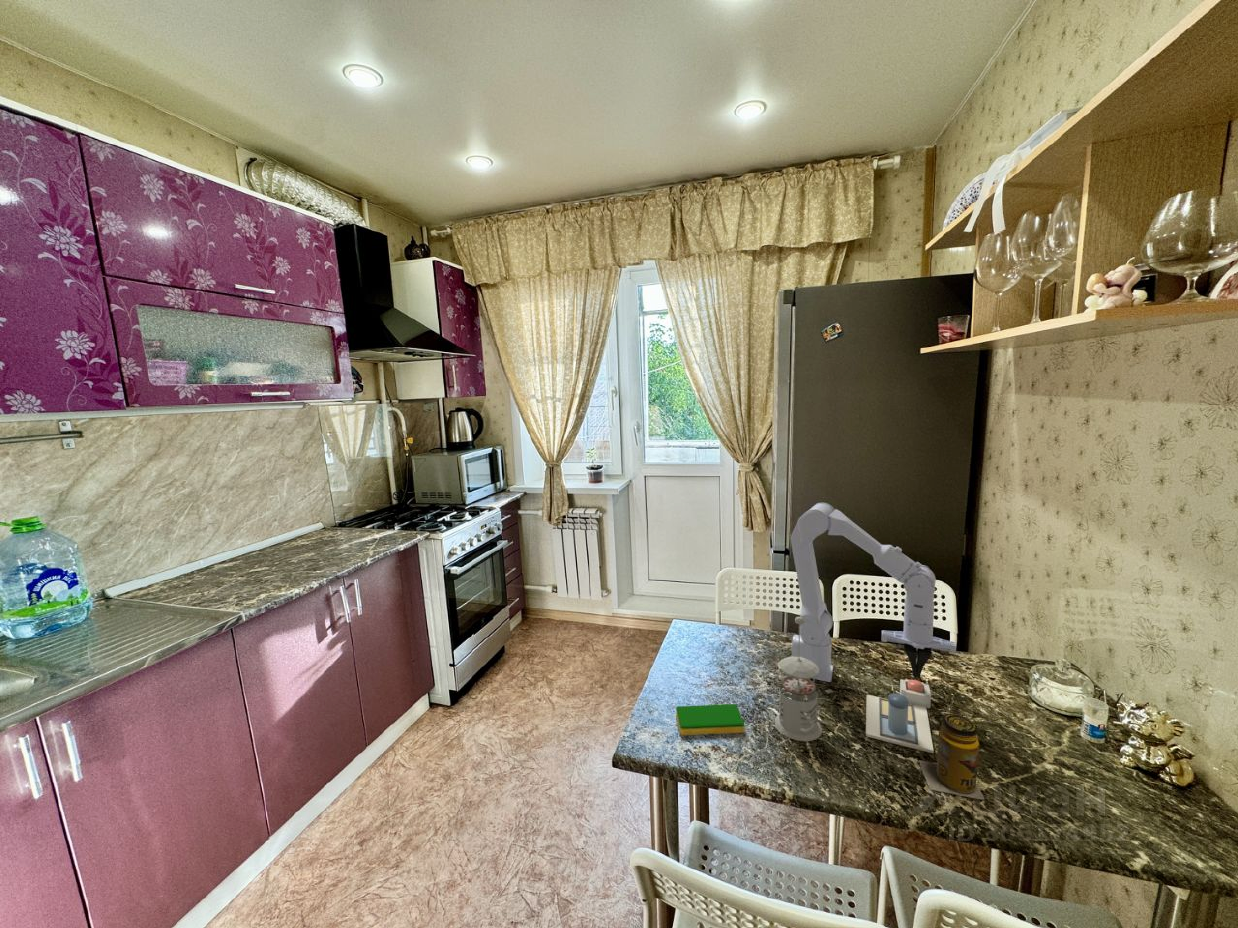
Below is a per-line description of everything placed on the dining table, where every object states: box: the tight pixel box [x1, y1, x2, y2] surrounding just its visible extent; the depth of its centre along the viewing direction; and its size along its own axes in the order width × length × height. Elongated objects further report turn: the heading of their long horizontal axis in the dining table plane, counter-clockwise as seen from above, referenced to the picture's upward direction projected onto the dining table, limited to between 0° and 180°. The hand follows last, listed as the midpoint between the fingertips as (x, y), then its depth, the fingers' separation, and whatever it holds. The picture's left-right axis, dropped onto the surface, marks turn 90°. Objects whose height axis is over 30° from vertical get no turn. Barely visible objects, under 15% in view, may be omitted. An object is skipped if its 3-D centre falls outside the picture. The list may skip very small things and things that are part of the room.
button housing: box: [899, 678, 932, 709], centre depth 114 cm, size 6×6×3 cm
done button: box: [908, 679, 923, 693], centre depth 114 cm, size 3×3×3 cm
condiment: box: [918, 713, 985, 800], centre depth 89 cm, size 7×8×12 cm
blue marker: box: [887, 692, 909, 735], centre depth 102 cm, size 4×4×7 cm
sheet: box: [865, 694, 935, 754], centre depth 106 cm, size 12×15×1 cm
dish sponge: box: [675, 703, 745, 736], centre depth 108 cm, size 7×14×2 cm, turn 91°
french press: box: [774, 616, 823, 742], centre depth 105 cm, size 10×12×25 cm
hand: (916, 674), depth 113 cm, fingers closed
